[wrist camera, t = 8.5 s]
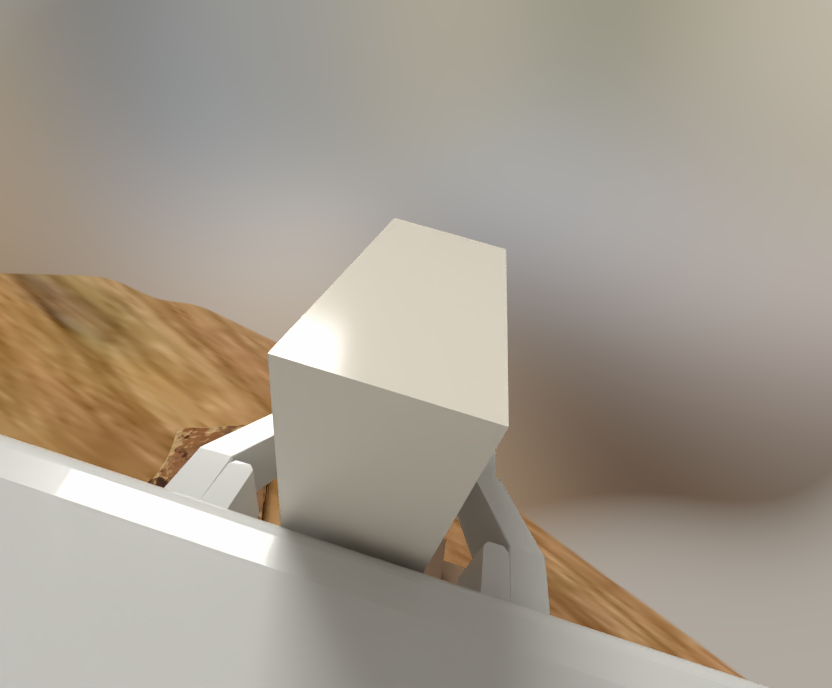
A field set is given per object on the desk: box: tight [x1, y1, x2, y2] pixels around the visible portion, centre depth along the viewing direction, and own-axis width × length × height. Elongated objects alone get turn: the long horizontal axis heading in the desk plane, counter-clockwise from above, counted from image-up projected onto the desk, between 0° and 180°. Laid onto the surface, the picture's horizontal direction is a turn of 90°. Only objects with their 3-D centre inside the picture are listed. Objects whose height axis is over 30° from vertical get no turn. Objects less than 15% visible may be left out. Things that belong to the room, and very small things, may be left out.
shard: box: [147, 425, 266, 520], centre depth 24 cm, size 11×8×2 cm
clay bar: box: [268, 218, 509, 573], centre depth 11 cm, size 3×6×14 cm, turn 167°
